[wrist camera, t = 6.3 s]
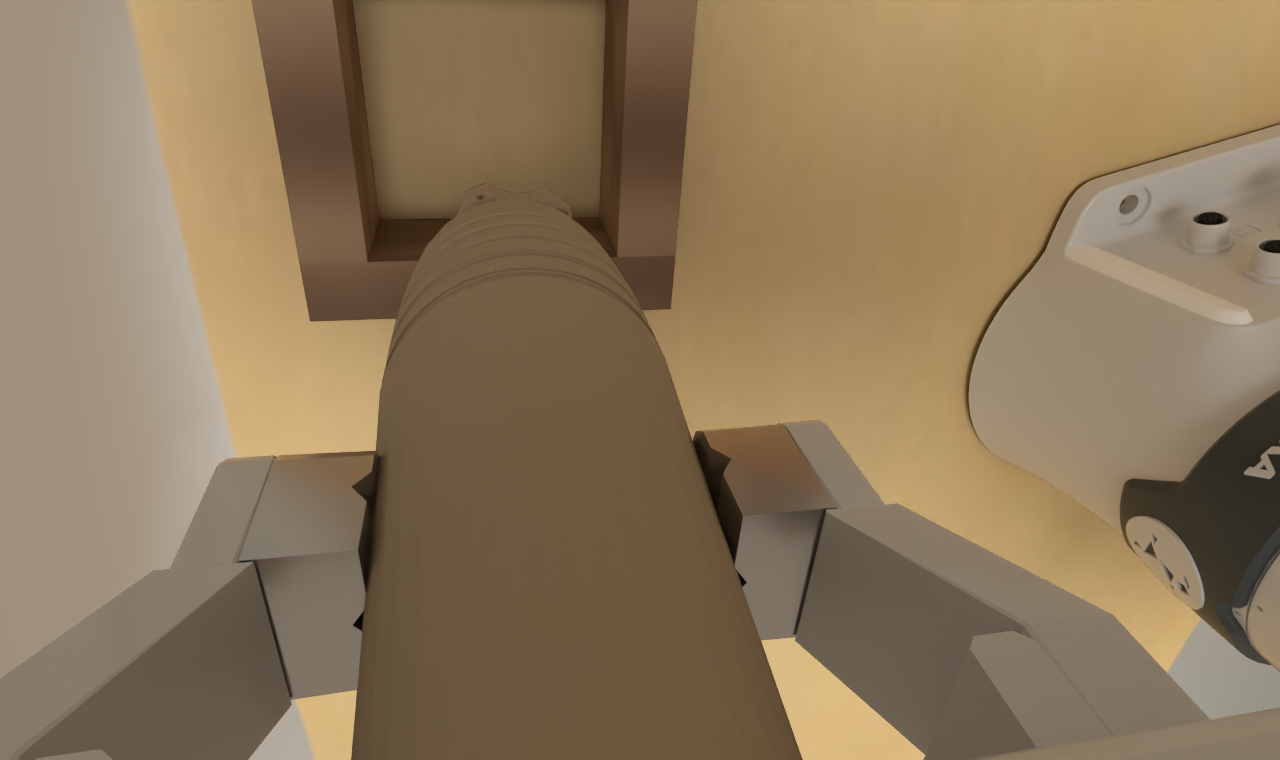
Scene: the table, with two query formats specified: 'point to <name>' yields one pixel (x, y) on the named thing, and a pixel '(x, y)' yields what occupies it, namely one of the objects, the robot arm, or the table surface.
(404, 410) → the handle
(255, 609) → the robot arm
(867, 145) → the table surface
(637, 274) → the socket board
